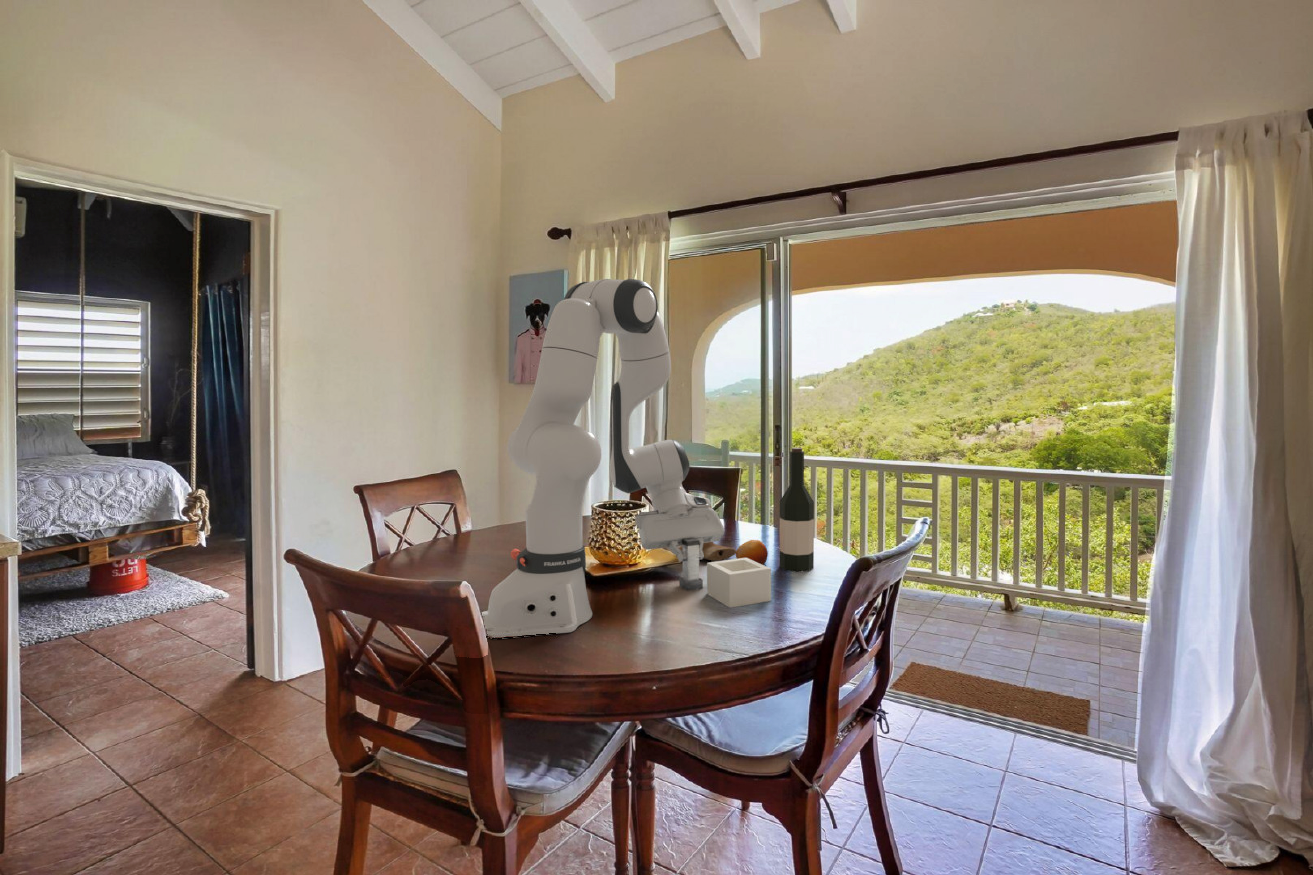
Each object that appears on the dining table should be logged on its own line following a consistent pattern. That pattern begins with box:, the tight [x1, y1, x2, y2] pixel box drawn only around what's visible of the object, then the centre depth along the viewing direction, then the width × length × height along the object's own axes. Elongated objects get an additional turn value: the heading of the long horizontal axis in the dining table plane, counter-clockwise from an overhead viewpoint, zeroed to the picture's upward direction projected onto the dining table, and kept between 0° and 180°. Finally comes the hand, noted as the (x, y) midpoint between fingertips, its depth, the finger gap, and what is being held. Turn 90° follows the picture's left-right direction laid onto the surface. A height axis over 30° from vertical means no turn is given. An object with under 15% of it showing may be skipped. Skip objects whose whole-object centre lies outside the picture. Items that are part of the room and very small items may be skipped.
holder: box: [706, 558, 772, 608], centre depth 143 cm, size 10×10×7 cm
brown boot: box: [678, 505, 737, 562], centre depth 176 cm, size 15×12×15 cm
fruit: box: [735, 539, 769, 567], centre depth 167 cm, size 8×8×8 cm
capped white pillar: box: [678, 538, 704, 592], centre depth 151 cm, size 4×4×11 cm
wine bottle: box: [779, 447, 815, 573], centre depth 165 cm, size 8×8×30 cm
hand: (692, 559), depth 150 cm, fingers closed on capped white pillar, 3 cm apart
